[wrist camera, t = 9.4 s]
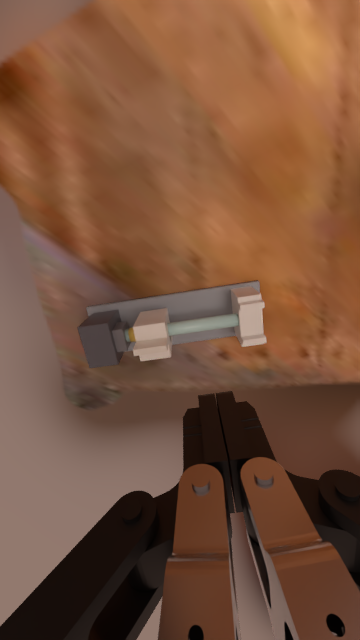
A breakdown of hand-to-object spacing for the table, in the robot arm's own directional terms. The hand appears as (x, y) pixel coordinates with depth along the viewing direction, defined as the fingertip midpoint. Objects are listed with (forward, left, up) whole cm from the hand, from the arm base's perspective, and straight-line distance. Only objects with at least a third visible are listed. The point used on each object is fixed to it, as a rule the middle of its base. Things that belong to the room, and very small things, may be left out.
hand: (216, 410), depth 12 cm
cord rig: (+3, +5, -29) cm, 30 cm away
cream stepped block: (+6, +5, -27) cm, 28 cm away
